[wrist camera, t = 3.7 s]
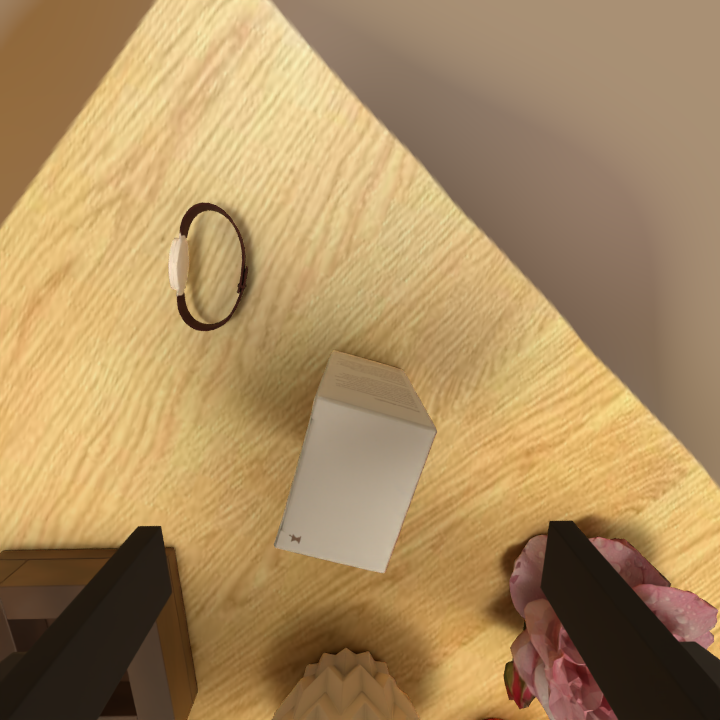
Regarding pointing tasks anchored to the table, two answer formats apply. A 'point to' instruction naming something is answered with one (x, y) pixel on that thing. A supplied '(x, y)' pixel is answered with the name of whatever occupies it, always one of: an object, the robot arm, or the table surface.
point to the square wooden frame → (58, 589)
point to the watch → (181, 266)
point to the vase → (346, 691)
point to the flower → (555, 648)
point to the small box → (357, 465)
